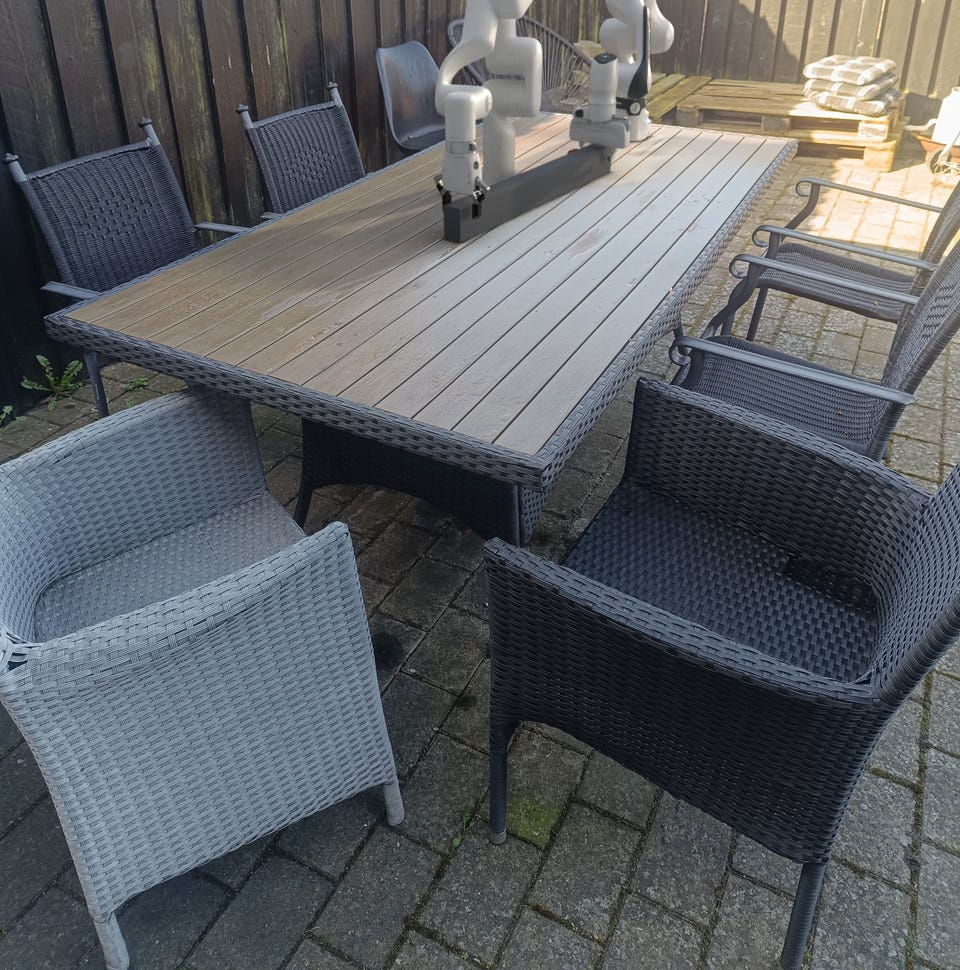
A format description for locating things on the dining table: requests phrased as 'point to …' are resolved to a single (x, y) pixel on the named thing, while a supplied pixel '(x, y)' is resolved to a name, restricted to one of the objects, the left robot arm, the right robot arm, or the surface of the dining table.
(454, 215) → the beam
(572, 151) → the dark red rounded lump
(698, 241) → the dining table surface
